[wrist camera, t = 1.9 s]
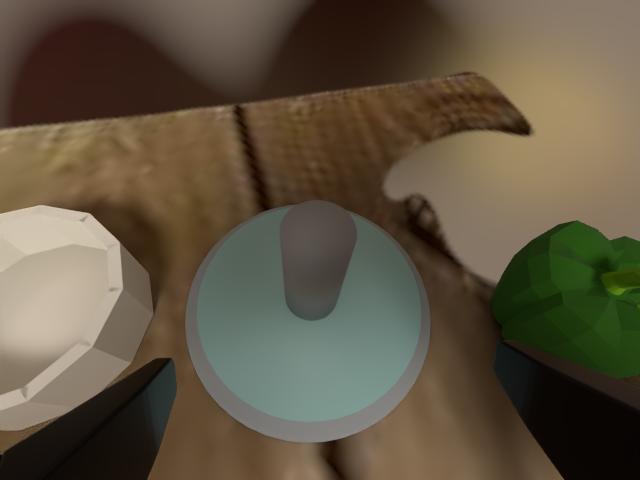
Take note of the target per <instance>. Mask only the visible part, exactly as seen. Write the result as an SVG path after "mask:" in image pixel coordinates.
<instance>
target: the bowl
mask: <svg viewBox="0 0 640 480" xmlns="http://www.w3.org/2000/svg"><path fill="white" fill-rule="evenodd" d="M153 315H154V311H153V303H152V295H151V286H150V278H149V273H148V272H147V271H146V270H145V269H144V268H143V267H142V266H141V265H140V263H139V262H138V261H137V260H136V259H135V258H134V257H133V256H132V255H131V254H130V253H129V252H128V251H127V250H126V248H125V247H124V246H123V245H122V244H121V243H120V242H119V241H118V240H117V239H116V238H115V237H114V236H113V235H112V234H111V233H110V232H109V231H107V230H106V229H105V228H104V227H103V226H102V225H101V224H100V223H99V222H98V221H97V220H96V219H95V218H94V217H93V216H92V215H91V214H90V213H84V212H79V211H73V210H67V209H61V208H55V207H50V206H44V205H39V206H35V207H30V208H25V209H21V210H16V211H12V212H7V213H2V214H0V430H22V429H25V428H28V427H30V426H33V425H36V424H39V423H42V422H44V421H47V420H50V419H53V418H55V417H58V416H61V415H64V414H66V413H67V412H69V411H71V410H72V409H74V408H76V407H77V406H79V405H80V404H82V403H84V402H85V401H87V400H89V399H90V398H92V397H94V396H95V395H97V394H98V393H100V392H101V391H102V390H103V389H104V388H105V387H106V386H107V385H108V384H109V383H110V382H112V381H113V380H114V379H115V378H116V377H117V376H118V375H119V374H120V373H121V372H123V371H124V370H125V369H126V368H127V367H128V366H129V365H130V364H131V363H132V361H133V359H134V357H135V355H136V353H137V350H138V348H139V346H140V344H141V341H142V339H143V337H144V335H145V333H146V330H147V328H148V326H149V324H150V321H151V319H152V317H153Z"/></svg>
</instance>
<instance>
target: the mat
mask: <svg viewBox="0 0 640 480" xmlns="http://www.w3.org/2000/svg"><path fill="white" fill-rule="evenodd" d="M296 205H297V204H296ZM296 205H287V206H282V207H278V208H274V209H271V210H268V211H264V212H262V213H259V214H257V215H255V216H253V217H251V218H249V219H247V220H245V221H244V222H242V223H240V224H239V225H237V226H236V227H235V228H233V229H232V230H230V231H229V232H228V233H227V234H226V235H225V236H224V237H222V238H221V239H220V240H219V241H218V242H217V243H216V245H215V246H214V247H213V248H212V249H211V250H210V252H209V253H208V254H207V256H206V257H205V259H204V260H203V262H202V264H201V265H200V267H199V269H198V271H197V273H196V275H195V277H194V280H193V283H192V286H191V289H190V292H189V296H188V301H187V306H186V319H185V329H186V339H187V345H188V349H189V353H190V357H191V360H192V363H193V365H194V368H195V370H196V373H197V375H198V377H199V378H200V380H201V382H202V383H203V385H204V387H205V389H206V390H207V391H208V393H209V394H210V395H211V396H212V398H213V399H214V400H215V401H216V402H217V404H218V405H219V406H220V407H222V408H223V409H224V410H225V411H226V412H227V413H228V414H229V415H230V416H232V417H233V418H234V419H236V420H238V421H239V422H241V423H242V424H244V425H245V426H247V427H248V428H251V429H253V430H255V431H257V432H259V433H262V434H264V435H266V436H270V437H274V438H277V439H281V440H285V441H293V442H302V443H309V442H326V441H330V440H335V439H340V438H344V437H347V436H350V435H352V434H355V433H358V432H360V431H362V430H364V429H366V428H368V427H370V426H371V425H373V424H375V423H377V422H378V421H380V420H381V419H382V418H383V417H385V416H386V415H387V414H389V413H390V412H391V411H392V410H393V409H394V408H395V407H396V406H397V405H398V404H399V403H400V402H401V401H402V400H403V399H404V398H405V396H406V395H407V393H408V392H409V390H410V389H411V388H412V386H413V385H414V383H415V381H416V379H417V377H418V375H419V373H420V371H421V369H422V367H423V364H424V361H425V358H426V355H427V351H428V346H429V340H430V328H431V318H430V306H429V302H428V297H427V293H426V289H425V287H424V284H423V281H422V278H421V276H420V274H419V272H418V270H417V268H416V266H415V264H414V263H413V261H412V260H411V258H410V257H409V255H408V254H407V252H406V251H405V250H404V249H403V248H402V246H401V245H400V244H399V243H398V242H397V241H396V240H395V239H394V238H393V237H392V236H391V235H390V234H389V233H387V232H386V231H385V230H383V229H382V228H381V227H379V226H378V225H377V224H375V223H373V222H372V221H370V220H368V219H366V218H364V217H362V216H360V215H358V214H356V213H353V212H350V211H347V210H346V211H347V212H348V213H349V214H352V215H354V216H356V217H358V218H360V219H363V220H364V221H366V222H368V223H369V224H371V225H373V226H374V227H375V228H377V229H378V230H379V231H381V232H382V233H383V234H384V235H385V236H386V237H387V238H389V239H390V240H391V241H392V242H393V244H394V245H395V246H396V247H397V248H398V250H399V251H400V252H401V254H402V255H403V257H404V258H405V260H406V261H407V263H408V265H409V267H410V269H411V271H412V273H413V275H414V278H415V281H416V284H417V287H418V291H419V296H420V302H421V328H420V333H419V338H418V343H417V346H416V348H415V351H414V354H413V357H412V359H411V361H410V362H409V364H408V366H407V368H406V370H405V371H404V373H403V374H402V375H401V377H400V378H399V380H398V381H397V382H396V383H395V384H394V385H393V386H392V387H391V389H390V390H389V391H388V392H387V393H386V394H384V395H383V396H382V397H380V398H379V399H378V400H376V401H375V402H374V403H372V404H371V405H369V406H367V407H365V408H363V409H362V410H360V411H358V412H356V413H353V414H350V415H347V416H344V417H342V418H338V419H333V420H328V421H323V422H298V421H289V420H285V419H281V418H277V417H274V416H271V415H269V414H266V413H264V412H262V411H260V410H257V409H255V408H254V407H252V406H251V405H249V404H248V403H246V402H244V401H243V400H241V399H240V398H239V397H238V396H236V395H235V394H234V393H233V392H232V391H231V390H230V389H228V388H227V386H226V385H225V384H224V383H223V382H222V381H221V379H220V378H219V377H218V376H217V374H216V373H215V371H214V370H213V368H212V366H211V365H210V363H209V361H208V359H207V357H206V354H205V352H204V350H203V347H202V344H201V340H200V336H199V332H198V323H197V302H198V296H199V290H200V286H201V283H202V280H203V277H204V274H205V272H206V270H207V268H208V266H209V263H210V262H211V260H212V259H213V257H214V256H215V254H216V252H217V251H218V250H219V249H220V247H221V246H222V245H223V244H224V243H225V241H226V240H228V239H229V238H230V237H231V236H232V235H233V234H234V233H235V232H236V231H238V230H239V229H240V228H242V227H243V226H244V225H246V224H248V223H249V222H251V221H253V220H254V219H256V218H258V217H261V216H263V215H265V214H268V213H271V212H274V211H277V210H281V209H286V208H290V207H294V206H296Z"/></svg>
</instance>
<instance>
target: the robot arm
mask: <svg viewBox="0 0 640 480" xmlns="http://www.w3.org/2000/svg"><path fill="white" fill-rule="evenodd" d="M493 368H494V373H495V375H496V377H497V379H498V380H499V382H500V384H501V385H502V387H503V389H504V390H505V392H506V394H507V395H508V397H509V399H510V400H511V402H512V404H513V406H514V407H515V409H516V411H517V412H518V414H519V416H520V417H521V419H522V420H523V422H524V424H525V425H526V427H527V428H528V430H529V431H530V433H531V434H532V436H533V437H534V438H535V440H536V441H537V442H538V444H539V445H540V447H541V448H542V449H543V451H544V452H545V454H546V455H547V456H548V458H549V459H550V461H551V462H552V463H553V465H554V466H555V468H556V469H557V470H558V472H559V473H560V475H561V476H562V477H563V479H564V480H640V387H638V386H635V385H633V384H630V383H627V382H625V381H622V380H619V379H617V378H614V377H611V376H609V375H606V374H603V373H601V372H598V371H595V370H592V369H590V368H587V367H584V366H582V365H579V364H576V363H574V362H571V361H568V360H566V359H563V358H560V357H558V356H555V355H552V354H549V353H547V352H544V351H541V350H539V349H536V348H533V347H531V346H528V345H525V344H523V343H520V342H517V341H514V340H505V341H499V342H498V343H497V346H496V352H495V358H494V365H493ZM176 391H177V382H176V374H175V366H174V361H173V359H171V358H157V359H154V360H152V361H151V362H149V363H148V364H146V365H144V366H143V367H141V368H139V369H138V370H136V371H134V372H133V373H131V374H130V375H128V376H126V377H125V378H123V379H121V380H120V381H118V382H116V383H115V384H113V385H112V386H110V387H108V388H107V389H105V390H103V391H102V392H100V393H98V394H97V395H95V396H94V397H92V398H90V399H89V400H87V401H85V402H84V403H82V404H80V405H79V406H77V407H76V408H74V409H72V410H71V411H69V412H67V413H66V414H64V415H63V416H61V417H59V418H58V419H56V420H54V421H53V422H51V423H49V424H48V425H46V426H45V427H43V428H41V429H40V430H38V431H36V432H35V433H33V434H31V435H30V436H28V437H27V438H25V439H23V440H22V441H20V442H18V443H17V444H15V445H13V446H12V447H10V448H9V449H7V450H5V451H4V453H3V455H2V454H0V480H147V478H148V476H149V473H150V471H151V469H152V466H153V464H154V461H155V459H156V456H157V454H158V451H159V448H160V445H161V441H162V438H163V435H164V432H165V428H166V425H167V422H168V419H169V415H170V412H171V409H172V405H173V402H174V399H175V396H176Z"/></svg>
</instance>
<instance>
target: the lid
mask: <svg viewBox="0 0 640 480" xmlns="http://www.w3.org/2000/svg"><path fill="white" fill-rule="evenodd" d="M197 323H198V332H199V336H200V340H201V344H202V347H203V350H204V352H205V354H206V357H207V359H208V361H209V363H210V365H211V366H212V368H213V370H214V371H215V373H216V374H217V376H218V377H219V378H220V379H221V381H222V382H223V383H224V384H225V385H226V386H227V388H228V389H230V390H231V391H232V392H233V393H234V394H235V395H236V396H238V397H239V398H240V399H241V400H243V401H244V402H246V403H248V404H249V405H251V406H252V407H254V408H255V409H257V410H260V411H262V412H264V413H266V414H269V415H271V416H274V417H277V418H281V419H285V420H289V421H298V422H323V421H328V420H333V419H338V418H342V417H344V416H347V415H350V414H353V413H356V412H358V411H360V410H362V409H363V408H365V407H367V406H369V405H371V404H372V403H374V402H375V401H376V400H378V399H379V398H380V397H382V396H383V395H384V394H386V393H387V392H388V391H389V390H390V389H391V387H392V386H393V385H394V384H395V383H396V382H397V381H398V380H399V378H400V377H401V375H402V374H403V373H404V371H405V370H406V368H407V366H408V364H409V362H410V361H411V359H412V357H413V354H414V351H415V348H416V346H417V343H418V338H419V333H420V328H421V302H420V296H419V291H418V287H417V284H416V281H415V278H414V275H413V273H412V271H411V269H410V267H409V265H408V263H407V261H406V260H405V258H404V257H403V255H402V254H401V252H400V251H399V250H398V248H397V247H396V246H395V245H394V244H393V242H392V241H391V240H390V239H389V238H387V237H386V236H385V235H384V234H383V233H382V232H381V231H379V230H378V229H377V228H375V227H374V226H373V225H371V224H369V223H368V222H366V221H364V220H363V219H360V218H358V217H356V216H354V215H352V214H349V213H348V212H347V211H346V210H345V209H343V208H342V207H340V206H339V205H337V204H335V203H332V202H329V201H324V200H310V201H305V202H302V203H300V204H297V205H296V206H294V207H290V208H286V209H281V210H277V211H274V212H271V213H268V214H265V215H263V216H261V217H258V218H256V219H254V220H253V221H251V222H249V223H248V224H246V225H244V226H243V227H242V228H240V229H239V230H238V231H236V232H235V233H234V234H233V235H232V236H231V237H230V238H229V239H228V240H226V241H225V243H224V244H223V245H222V246H221V247H220V249H219V250H218V251H217V252H216V254H215V256H214V257H213V259H212V260H211V262H210V263H209V266H208V268H207V270H206V272H205V274H204V277H203V280H202V283H201V286H200V290H199V296H198V302H197Z"/></svg>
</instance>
